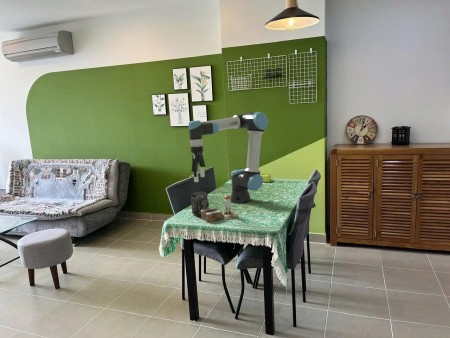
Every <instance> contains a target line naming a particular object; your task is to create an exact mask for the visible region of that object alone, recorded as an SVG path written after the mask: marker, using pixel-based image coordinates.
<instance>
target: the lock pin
mask: <svg viewBox="0 0 450 338" xmlns="http://www.w3.org/2000/svg"><path fill="white" fill-rule="evenodd" d="M230 197H231V195H225V196H224V207H225V209H224V210H225V211H224V212H226V215H230V214H231V211H232V207H231V203H232V202H231V201H230Z"/></svg>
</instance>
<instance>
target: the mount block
mask: <svg viewBox="0 0 450 338" xmlns="http://www.w3.org/2000/svg"><path fill="white" fill-rule="evenodd" d="M238 217H239V213H237V212H236V211H234V210H231V214H230V215H226V211H222V219H224V220H230V219H234V218H235V219H236V218H238Z"/></svg>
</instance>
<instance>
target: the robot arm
mask: <svg viewBox="0 0 450 338" xmlns="http://www.w3.org/2000/svg"><path fill="white" fill-rule="evenodd" d="M268 125H269V118H268V116H267V115H266V114H265V113H264V112H262V111H255V112H254V111H252V112H243V113H241V114H236V115H233V116H232V117H225V118H220V119H214V120H213V119H212V120H207V121H201V120H191V121H188V132H189V133H188V134H189V143H190V152H191V154H193V155H191V156H192V157H191V158H192V161H191V172H192V173H193V182H194V183H199V181H200V179H199V176H200V178H205V177H206V176H205V175H206V172H205V167H206V163H205V160H204V155H203V152H204V147H203V145H204V144H203V136H210V135H215V134H218V133H219V131H223V130H228V129H230V130H231V129H235V130H239V129H244V130H245V129H246V131H247V133H248V142H247V144H248V145H247V156H246V157H247V158H246V167H245V168H242V169H235V170H232V171H231V172H230V173H231V175H230V179H231V180H230V181H231V194H230V203H233V204H245V203H249V202H250V201H251V195H250V193H249V192H250V191H258V190H260V188H262V186H263V183H264V178H263V176H262V175H261V170H260V169H259V168H260V167H259V166H260V155H261V143H262V135H263V134H264V133H265V129H266V128H267V127H268ZM198 167H199V170H198ZM198 171H199V172H198ZM199 174H200V175H199Z"/></svg>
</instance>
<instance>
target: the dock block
mask: <svg viewBox="0 0 450 338" xmlns="http://www.w3.org/2000/svg"><path fill="white" fill-rule="evenodd" d="M222 212H223V210H221V209H217V207H216V206H215V207H208V209H204V210H201V216H200V217H201V220H202V221H204V220H205V221H204V222H206V223H208V224H209V223H214V222H217V221H222V220H223V218H222Z"/></svg>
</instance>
